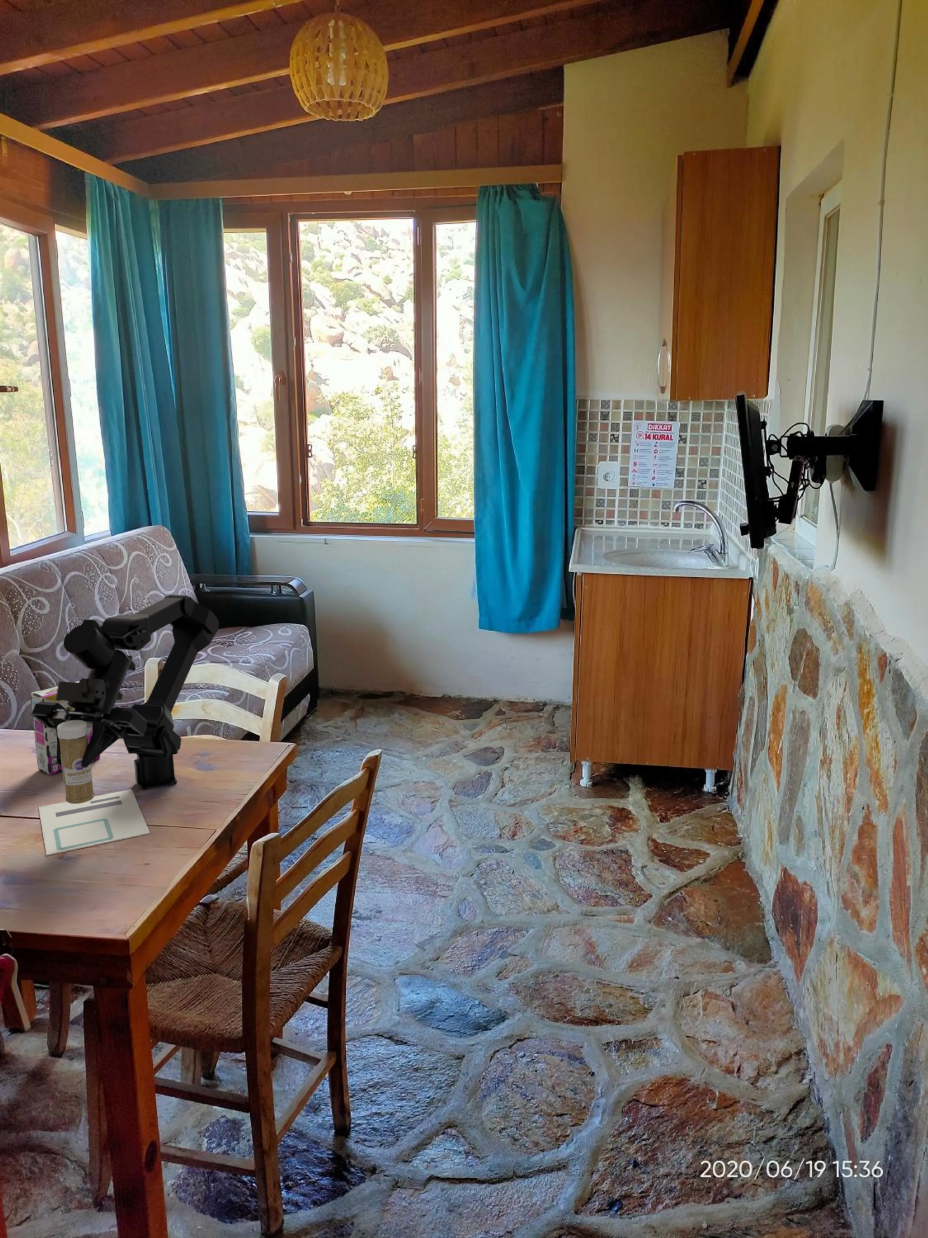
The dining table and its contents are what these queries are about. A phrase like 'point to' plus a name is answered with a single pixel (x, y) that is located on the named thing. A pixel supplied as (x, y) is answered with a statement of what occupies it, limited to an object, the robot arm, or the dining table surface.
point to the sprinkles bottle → (75, 761)
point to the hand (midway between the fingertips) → (71, 765)
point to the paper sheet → (91, 822)
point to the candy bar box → (49, 733)
